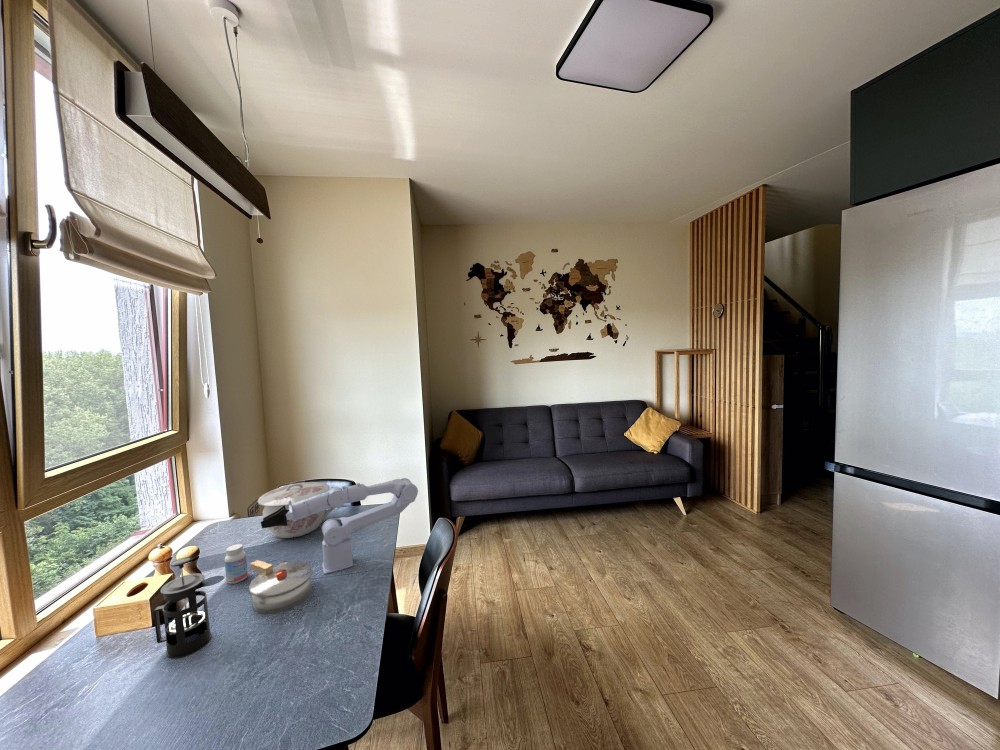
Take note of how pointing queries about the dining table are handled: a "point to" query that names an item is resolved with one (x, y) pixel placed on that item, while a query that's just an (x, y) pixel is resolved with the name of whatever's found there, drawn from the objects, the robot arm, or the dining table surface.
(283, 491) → the chamber pot
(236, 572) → the pill bottle
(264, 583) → the cooker lid
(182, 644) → the french press
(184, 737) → the dining table surface
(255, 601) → the white oval dish
